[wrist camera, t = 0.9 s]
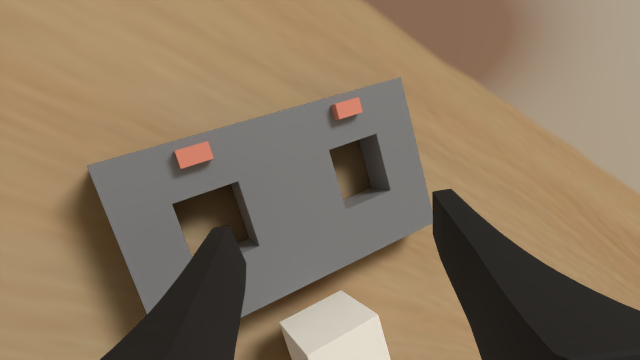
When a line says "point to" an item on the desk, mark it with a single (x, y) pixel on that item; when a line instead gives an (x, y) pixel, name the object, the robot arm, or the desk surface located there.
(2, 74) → the desk surface
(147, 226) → the socket
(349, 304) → the plug
